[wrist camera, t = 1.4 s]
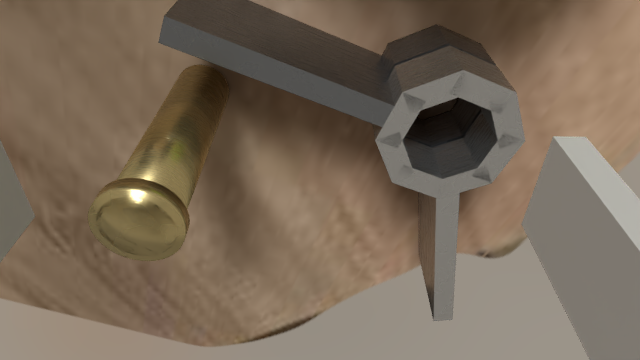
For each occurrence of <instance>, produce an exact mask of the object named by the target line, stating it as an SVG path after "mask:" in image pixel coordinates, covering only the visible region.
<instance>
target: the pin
mask: <svg viewBox="0 0 640 360" xmlns="http://www.w3.org/2000/svg"><path fill="white" fill-rule="evenodd" d="M228 97H229V87H228V84H227V81H226V80H225V78H224V77H223V76H222V74H221V73H219V72H218V71H217V70H215V69H214V68H211V67H209V66H205V65H194V66H190V67H188V68H186V69H185V70H184V71H183V72H182V73H181V74H180V76H179V78H178V79H177V81H176V83H175V84H174V86H173V88H172V89H171V91H170V92H169V94H168V96H167V97H166V99H165V101H164V102H163V104H162V106H161V107H160V109H159V111H158V112H157V114H156V116H155V117H154V119H153V121H152V122H151V124H150V126H149V127H148V129H147V131H146V132H145V134H144V136H143V137H142V139H141V141H140V142H139V144H138V146H137V147H136V149H135V150H134V152H133V154H132V155H131V157H130V159H129V160H128V162H127V164H126V165H125V167H124V169H123V170H122V172H121V174H120V175H119V177H118V179H117V180H116V181H113V182H111V183H109V184H107V185H106V186H105V187H104V188H102V190H101V191H100V192H99V194H98V195H97V197H96V198H95V200H94V202H93V203H92V205H91V207H90V209H89V212H88V223H89V227H90V229H91V231H92V233H93V234H94V236H95V237H96V238H97V240H98V241H99V242H100V243H101V244H103V245H104V246H105V247H106V248H108V249H109V250H111V251H112V252H114V253H116V254H118V255H121V256H123V257H126V258H129V259H134V260H140V261H156V260H161V259H165V258H167V257H170V256H171V255H173V254H175V253H176V252H177V251H178V250H179V249H180V248H181V246H182V244H183V242H184V240H185V237H186V234H187V231H188V228H189V222H190V219H189V214H188V210H187V209H188V206H189V203H190V200H191V198H192V195H193V192H194V190H195V187H196V184H197V181H198V179H199V176H200V173H201V171H202V168H203V165H204V162H205V160H206V157H207V154H208V152H209V149H210V146H211V143H212V141H213V138H214V135H215V133H216V130H217V127H218V124H219V122H220V119H221V116H222V114H223V111H224V108H225V105H226V103H227V100H228Z"/></svg>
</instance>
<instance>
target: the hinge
mask: <svg viewBox="0 0 640 360" xmlns="http://www.w3.org/2000/svg"><path fill="white" fill-rule="evenodd" d="M159 43H161V44H163V45H166V46H169V47H171V48H174V49H177V50H179V51H182V52H184V53H187V54H190V55H192V56H195V57H198V58H200V59H203V60H206V61H208V62H211V63H214V64H216V65H219V66H221V67H224V68H227V69H229V70H232V71H235V72H237V73H240V74H243V75H245V76H248V77H251V78H253V79H256V80H259V81H261V82H264V83H266V84H269V85H272V86H274V87H277V88H280V89H282V90H285V91H288V92H290V93H293V94H296V95H298V96H301V97H304V98H306V99H309V100H311V101H314V102H317V103H319V104H322V105H325V106H327V107H330V108H333V109H335V110H338V111H341V112H343V113H346V114H349V115H351V116H354V117H356V118H359V119H362V120H364V121H367V122H370V123H372V124H373V130H374V136H375V141H376V144H377V146H378V149H379V151H380V154H381V156H382V159H383V161H384V163H385V166H386V168H387V171H388V173H389V176H390V178H391V181H392V183H395V184H397V185H400V186H403V187H406V188H409V189H412V190H415V191H417V192H418V212H419V257H420V262H421V266H422V270H423V275H424V279H425V284H426V289H427V293H428V298H429V302H430V307H431V311H432V316H433V320H434V321H439V320H452V316H453V299H454V282H455V265H456V248H457V231H458V214H459V197H460V193H461V192H464V191H467V190H471V189H474V188H477V187H481V186H484V185H487V184H491V183H492V182H493V181H494V180H495V178H496V177H497V176H498V175H499V173H500V172H501V171H502V170H503V168H504V167H505V166H506V164H507V163H508V162H509V161H510V159H511V158H512V157H513V156H514V154H515V153H516V152H517V151H518V149H519V148H520V147H521V146H522V144H523V143H524V142H525V137H524V132H523V126H522V121H521V115H520V110H519V104H518V98H517V93H516V91H515V90H514V88H513V87H512V86H511V84H510V83H509V82H508V80H507V79H506V78H505V76H504V75H503V74H502V72H501V71H500V70H499V68H498V67H497V66H496V64H495V63H494V61H493V60H492V59H491V57H490V56H489V55H488V53H487V52H486V51H485V49H484V48H483V47H482V45H481V44H480V43H478V42H475V41H473V40H471V39H469V38H466V37H464V36H462V35H460V34H457V33H455V32H453V31H451V30H448V29H446V28H444V27H442V26H439V25H434V26H432V27H429V28H427V29H424V30H422V31H419V32H416V33H414V34H411V35H409V36H406V37H403V38H401V39H398V40H396V41H393V42H391V43H388V45H387V47H386V49H385V51H384V52H383V54H382V56H381V55H379V54H376V53H374V52H371V51H369V50H366V49H364V48H362V47H359V46H357V45H354V44H352V43H350V42H347V41H345V40H342V39H340V38H338V37H335V36H333V35H330V34H328V33H326V32H323V31H321V30H318V29H316V28H314V27H311V26H309V25H306V24H304V23H302V22H299V21H297V20H294V19H292V18H289V17H287V16H285V15H282V14H280V13H277V12H275V11H273V10H270V9H268V8H265V7H263V6H261V5H258V4H256V3H253V2H251V1H249V0H178V1H177V2H176V3H175V4H174V5H173V7H172V8H171V9H170V10H169V11H168V12H167V13H166V14H165V16H164V19H163V24H162V29H161V33H160V38H159ZM458 97H459V100H458V101H457V103H456V104H455V106H454V107H453V109H452V110H451V111H450V112H447V113H444V114H441V115H438V116H435V117H432V118H429V119H426V120H420V119H417V118H416V117H417V116H418V114H419V112H420V111H421V110H423V109H426V108H429V107H432V106H435V105H438V104H441V103H443V102H446V101H449V100H452V99H455V98H458Z"/></svg>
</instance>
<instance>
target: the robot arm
mask: <svg viewBox="0 0 640 360" xmlns="http://www.w3.org/2000/svg"><path fill="white" fill-rule="evenodd" d="M34 217H35V214H34V212H33V210H32V208H31V206H30V204H29V201H28V199H27V197H26V195H25V193H24V190H23V188H22V186H21V184H20V182H19V180H18V177H17V175H16V173H15V171H14V169H13V167H12V164H11V162H10V160H9V158H8V156H7V153H6V151H5V149H4V147H3V145H2V143H1V140H0V262H1V261H2V259H3V258H4V257H5V256H6V254H7V253H8V252H9V250H10V249H11V248H12V246H13V245H14V244H15V242H16V241H17V240H18V238H19V237H20V236H21V234H22V233H23V232H24V231H25V229H26V228H27V227H28V225H29V224H30V223H31V221H32V220H33V219H34ZM522 226H523V228H524V230H525V232H526V234H527V236H528V238H529V240H530V242H531V244H532V246H533V248H534V250H535V252H536V254H537V256H538V258H539V260H540V262H541V264H542V266H543V268H544V270H545V272H546V274H547V276H548V278H549V280H550V282H551V284H552V286H553V288H554V290H555V292H556V294H557V295H558V298H559V300H560V302H561V303H562V306H563V308H564V309H565V312H566V314H567V316H568V318H569V319H570V321H571V323H572V325H573V327H574V329H575V331H576V333H577V335H578V337H579V339H580V341H581V343H582V345H583V347H584V349H585V351H586V353H587V355H588V357H589V359H590V360H640V199H639V198H638V197H637V196H636V195H635V194H634V193H633V191H632V190H631V189H630V188H629V187H628V185H627V184H626V183H625V182H624V181H623V180H622V179H621V177H620V176H619V175H618V174H617V173H616V171H615V170H614V169H613V168H612V167H611V166H610V164H609V163H608V162H607V161H606V160H605V159H604V158H603V156H602V155H601V154H600V153H599V152H598V151H597V149H596V148H595V147H594V146H593V145H592V144H591V142H590V141H589V140H588V139H587V138H586V137H557V136H553V138H552V141H551V144H550V147H549V150H548V152H547V155H546V158H545V161H544V163H543V166H542V169H541V172H540V174H539V177H538V180H537V183H536V186H535V188H534V191H533V194H532V197H531V199H530V202H529V205H528V208H527V211H526V213H525V216H524V219H523V222H522Z"/></svg>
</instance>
